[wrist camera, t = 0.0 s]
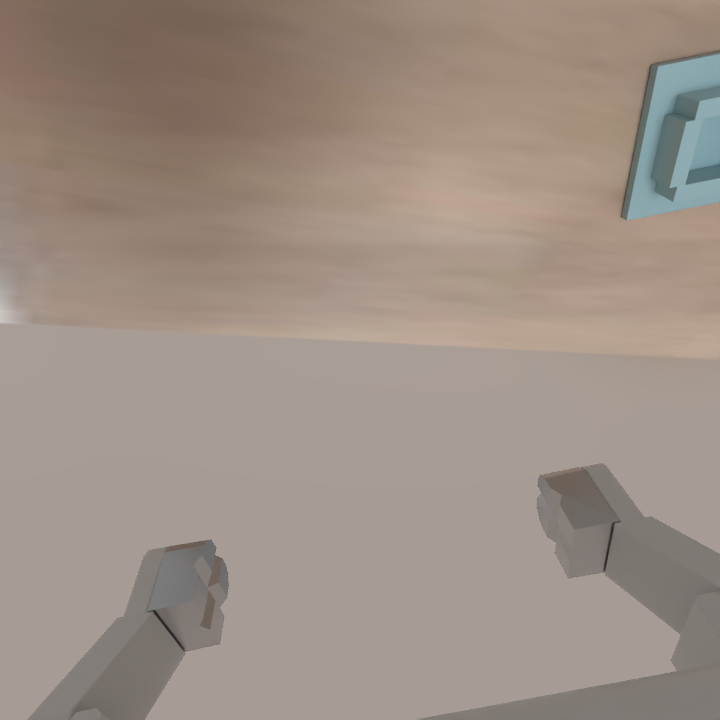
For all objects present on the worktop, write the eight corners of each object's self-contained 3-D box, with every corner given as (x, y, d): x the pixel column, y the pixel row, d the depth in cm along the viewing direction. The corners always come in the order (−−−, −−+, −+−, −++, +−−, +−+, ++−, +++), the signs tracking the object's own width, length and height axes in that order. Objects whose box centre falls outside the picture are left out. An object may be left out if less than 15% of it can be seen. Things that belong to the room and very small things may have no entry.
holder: (651, 64, 41) (680, 71, 38) (787, 36, 41) (827, 41, 38) (621, 217, 50) (643, 232, 47) (733, 194, 50) (762, 208, 47)
